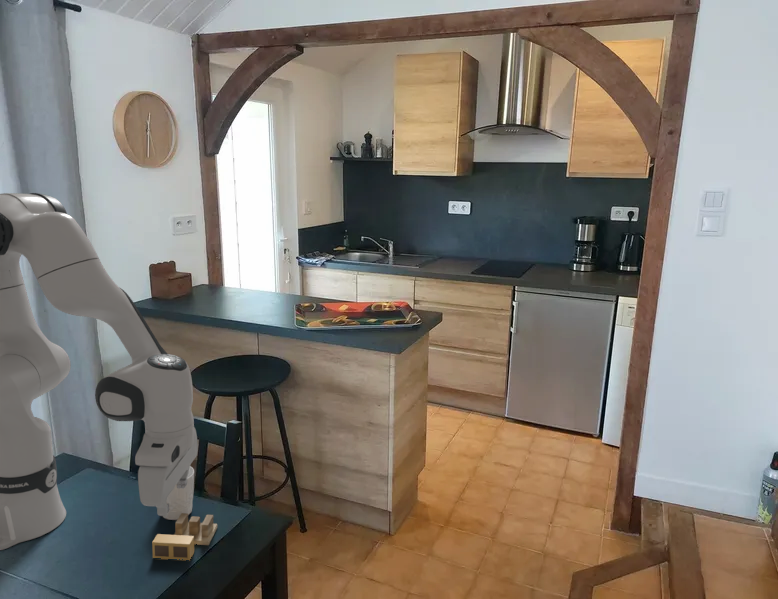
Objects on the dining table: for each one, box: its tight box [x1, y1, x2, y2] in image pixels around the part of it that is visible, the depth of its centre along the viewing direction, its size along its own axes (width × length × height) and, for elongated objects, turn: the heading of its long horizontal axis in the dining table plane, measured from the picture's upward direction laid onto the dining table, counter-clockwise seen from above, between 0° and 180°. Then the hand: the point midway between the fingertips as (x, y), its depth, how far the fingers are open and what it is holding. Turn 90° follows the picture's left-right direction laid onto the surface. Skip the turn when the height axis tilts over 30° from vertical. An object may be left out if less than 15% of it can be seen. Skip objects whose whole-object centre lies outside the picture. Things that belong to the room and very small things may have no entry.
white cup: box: [162, 465, 195, 521], centre depth 127 cm, size 8×8×10 cm
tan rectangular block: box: [151, 533, 195, 562], centre depth 113 cm, size 8×3×4 cm, turn 90°
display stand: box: [173, 513, 218, 546], centre depth 119 cm, size 8×6×4 cm
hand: (173, 499), depth 110 cm, fingers open, 8 cm apart
